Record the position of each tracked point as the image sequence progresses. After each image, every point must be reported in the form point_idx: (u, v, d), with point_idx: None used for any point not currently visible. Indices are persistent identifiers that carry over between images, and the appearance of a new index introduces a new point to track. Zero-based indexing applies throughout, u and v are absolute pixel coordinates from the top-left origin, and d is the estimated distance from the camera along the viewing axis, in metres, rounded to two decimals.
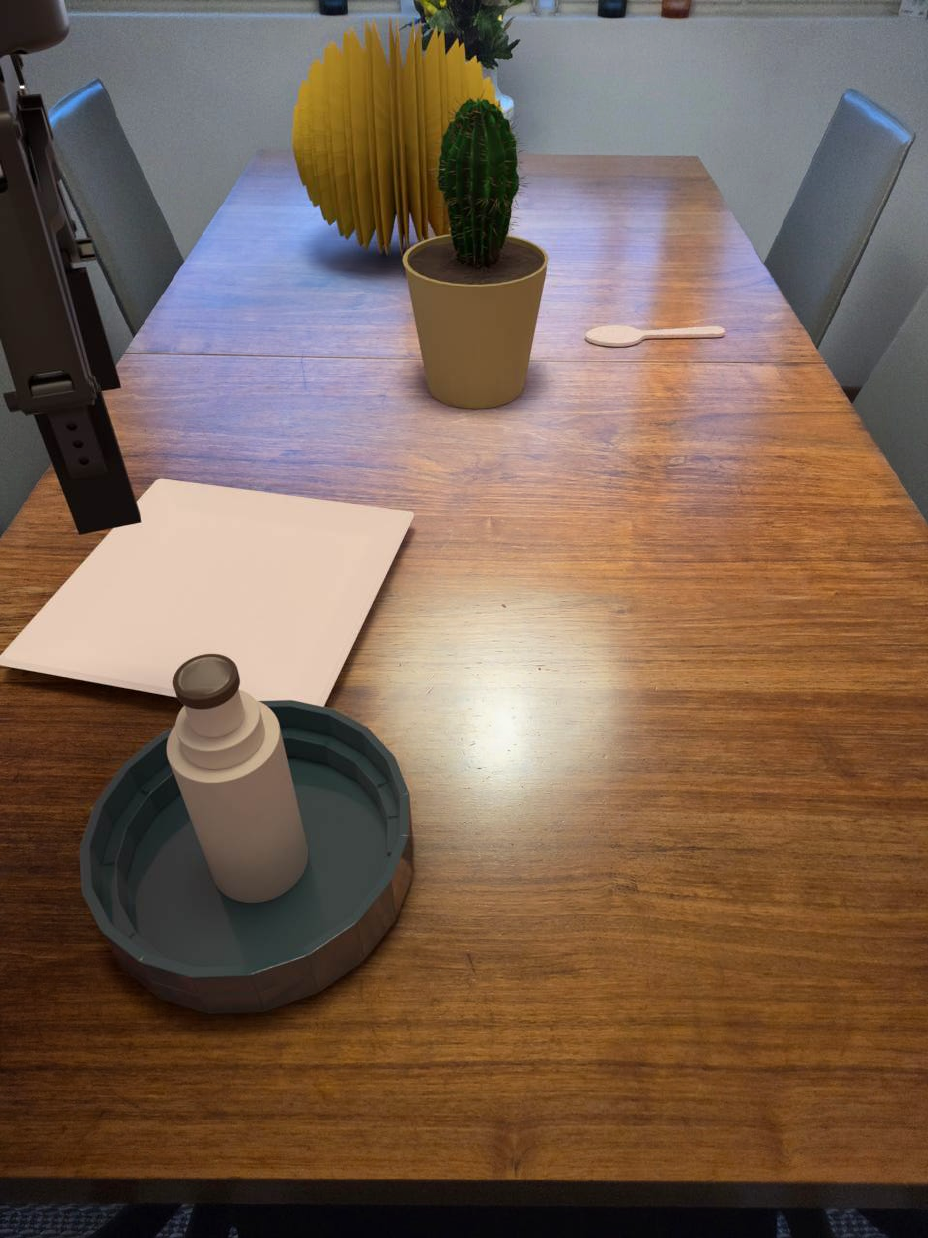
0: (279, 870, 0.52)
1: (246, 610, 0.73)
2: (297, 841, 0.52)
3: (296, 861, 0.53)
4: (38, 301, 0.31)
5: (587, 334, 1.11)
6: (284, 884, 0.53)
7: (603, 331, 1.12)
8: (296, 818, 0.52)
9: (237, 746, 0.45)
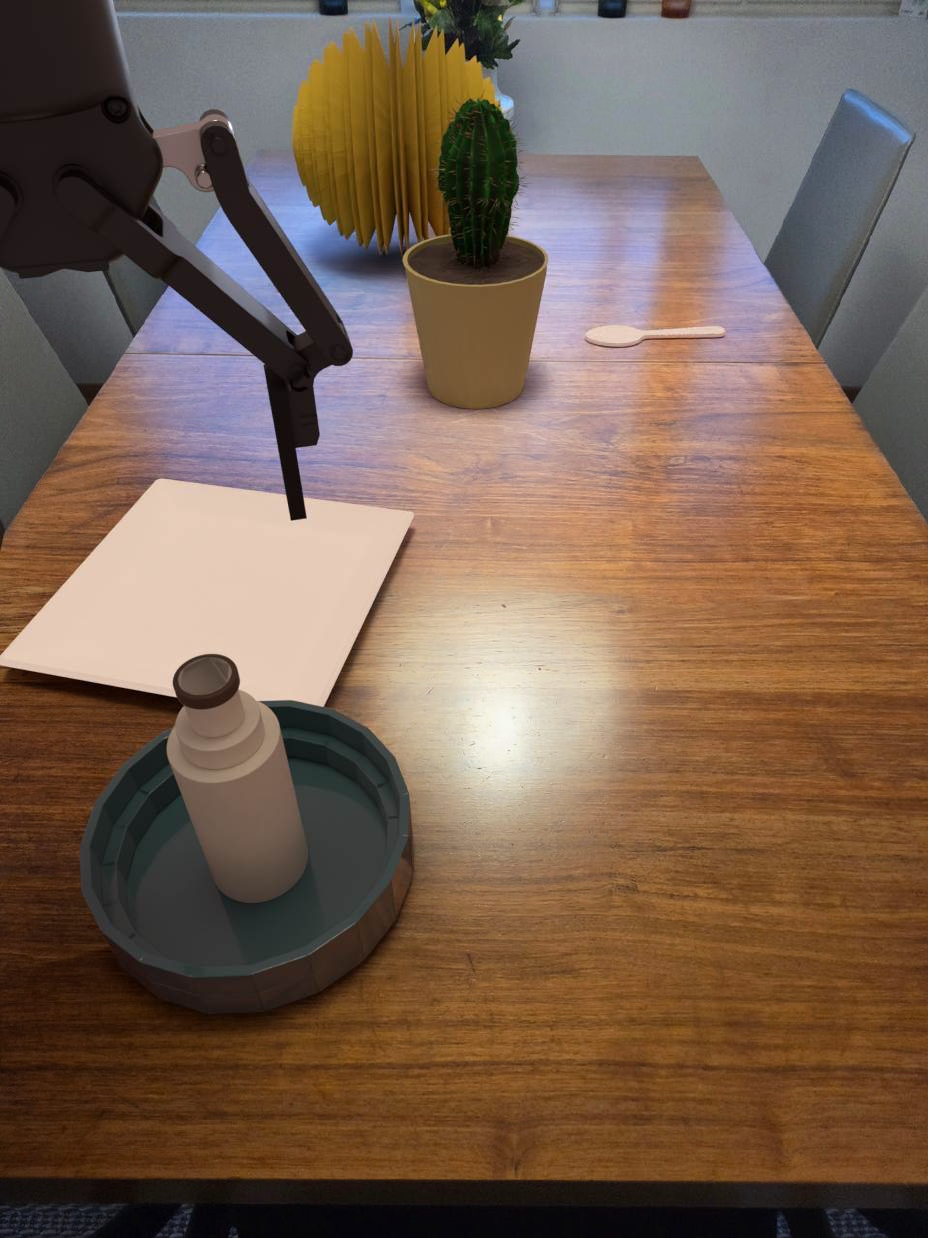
0: (279, 870, 0.52)
1: (246, 610, 0.73)
2: (297, 841, 0.52)
3: (296, 861, 0.53)
4: (303, 265, 0.35)
5: (587, 334, 1.11)
6: (284, 884, 0.53)
7: (603, 331, 1.12)
8: (296, 818, 0.52)
9: (237, 746, 0.45)
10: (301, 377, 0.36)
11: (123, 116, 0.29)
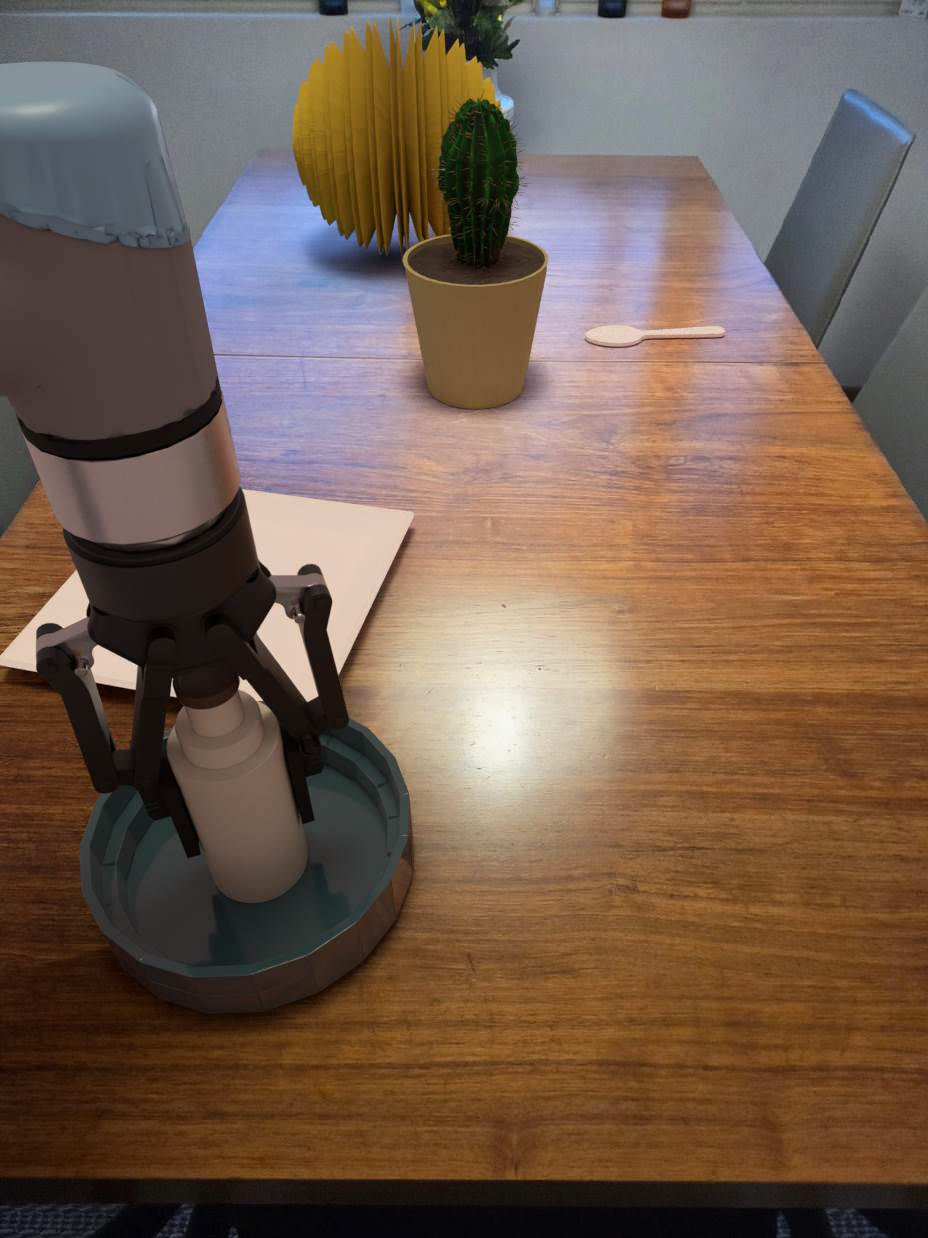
0: (279, 870, 0.52)
1: None
2: (297, 841, 0.52)
3: (295, 861, 0.53)
4: None
5: (587, 334, 1.11)
6: (284, 884, 0.53)
7: (603, 331, 1.12)
8: (296, 818, 0.52)
9: (237, 746, 0.45)
10: (312, 746, 0.47)
11: (252, 576, 0.40)
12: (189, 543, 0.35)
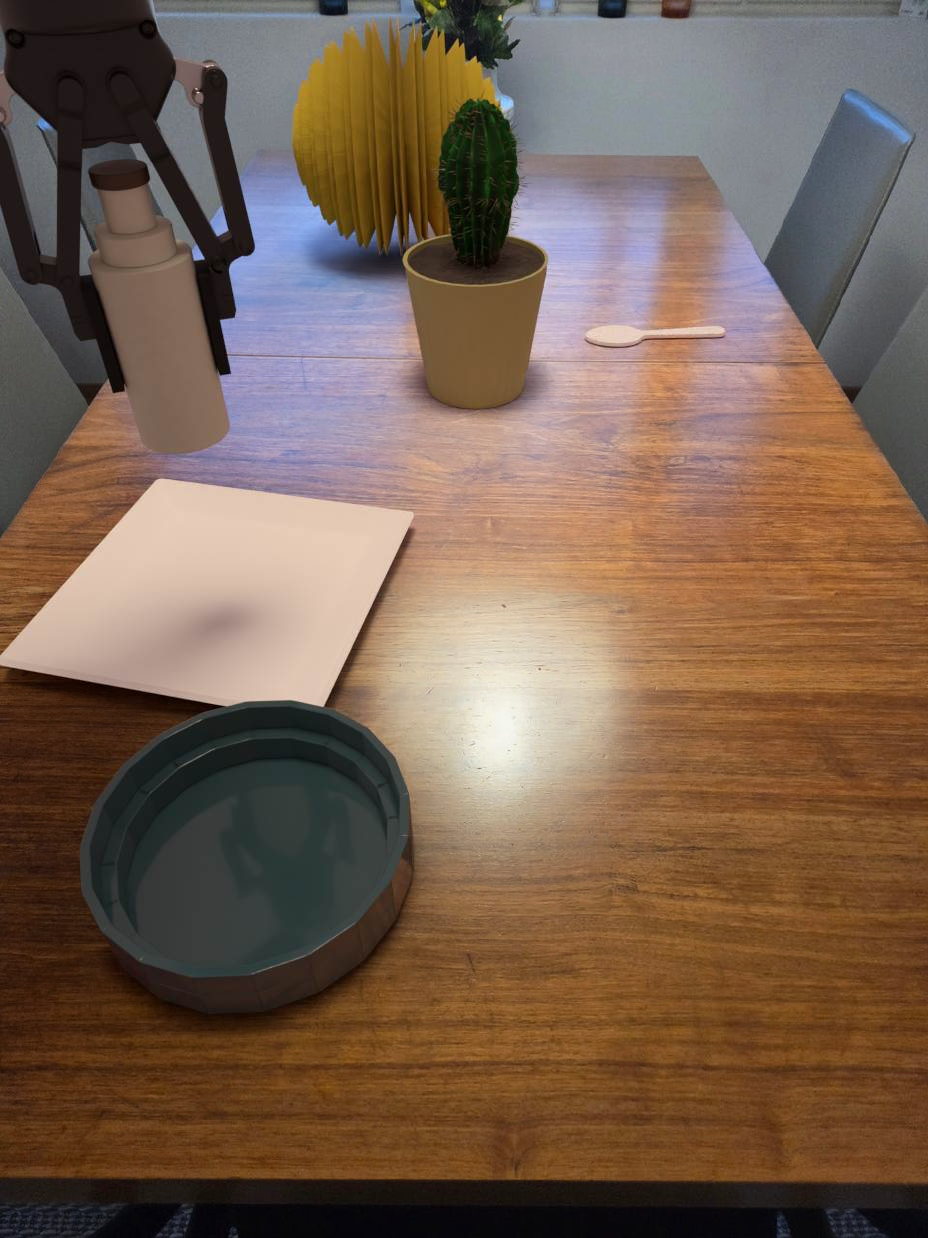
0: (198, 414, 0.57)
1: (246, 610, 0.73)
2: (215, 393, 0.57)
3: (214, 415, 0.58)
4: None
5: (587, 334, 1.11)
6: (204, 436, 0.58)
7: (603, 331, 1.12)
8: (213, 367, 0.57)
9: (148, 241, 0.50)
10: (220, 263, 0.52)
11: (151, 34, 0.45)
12: None
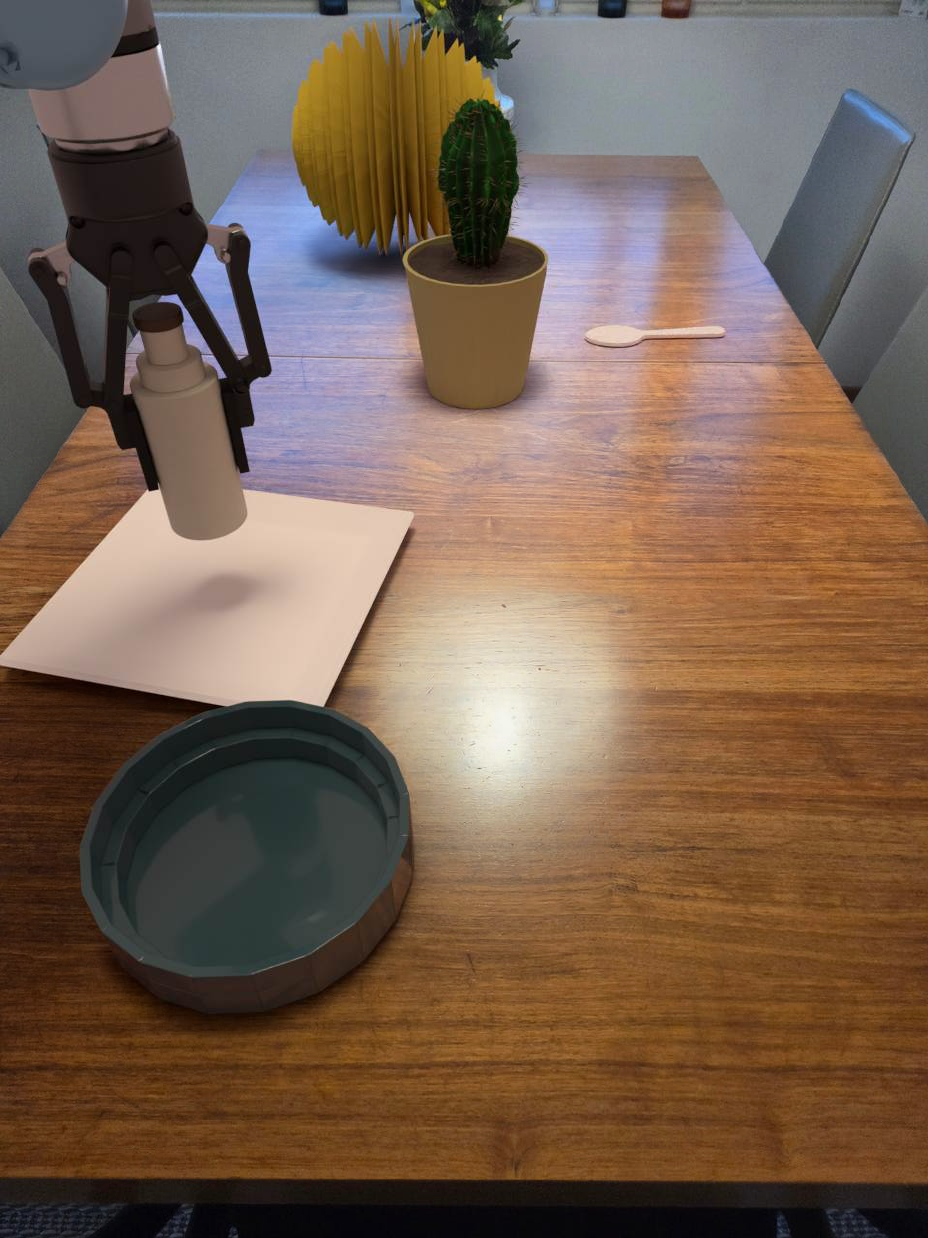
0: (221, 507, 0.66)
1: (246, 610, 0.73)
2: (236, 488, 0.66)
3: (235, 506, 0.67)
4: None
5: (587, 334, 1.11)
6: (226, 525, 0.67)
7: (603, 331, 1.12)
8: (234, 466, 0.66)
9: (182, 371, 0.59)
10: (242, 385, 0.61)
11: (188, 211, 0.54)
12: (136, 151, 0.49)
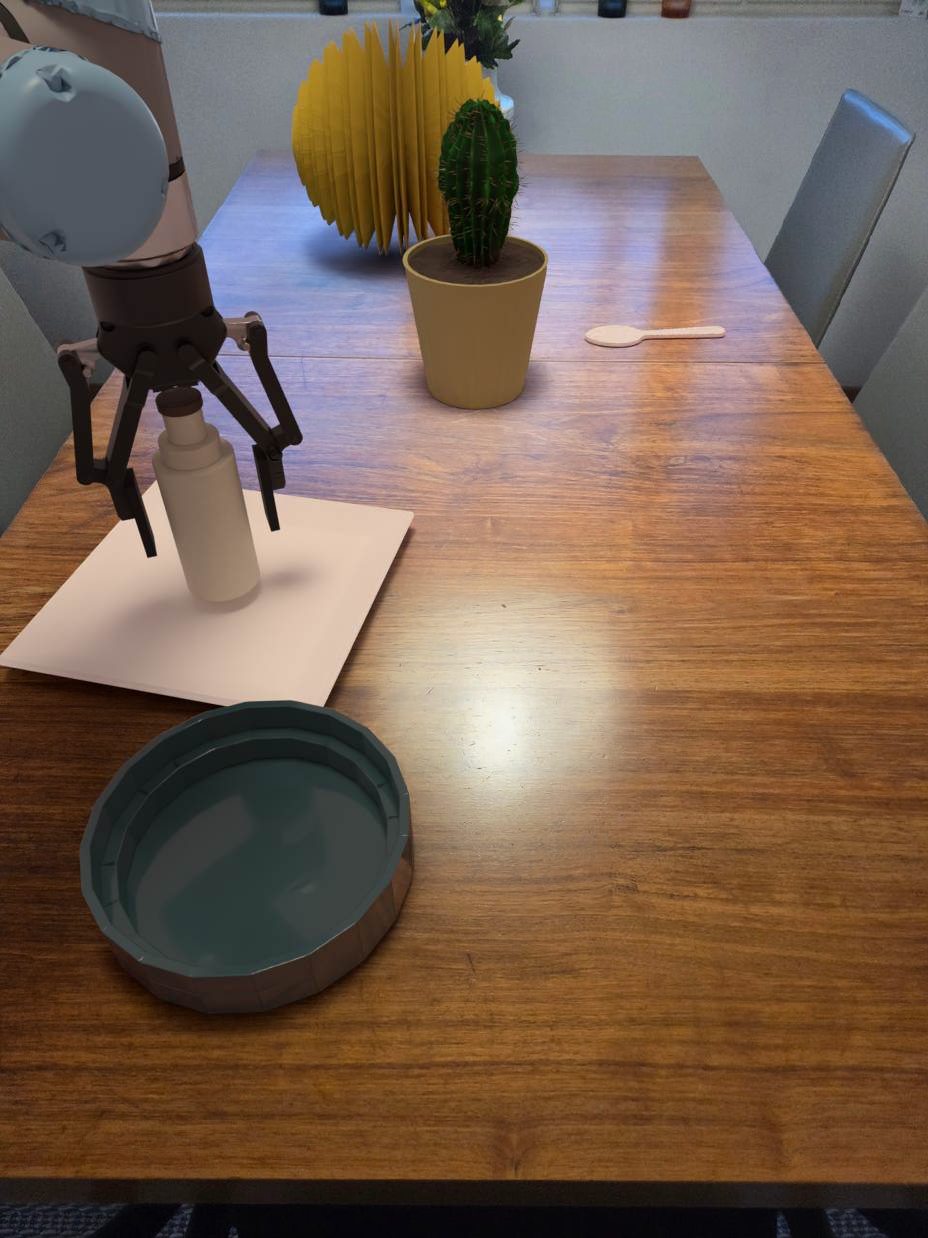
0: (236, 571, 0.70)
1: (246, 610, 0.73)
2: (249, 552, 0.71)
3: (249, 569, 0.71)
4: None
5: (587, 334, 1.11)
6: (240, 587, 0.71)
7: (603, 331, 1.12)
8: (248, 533, 0.70)
9: (201, 451, 0.63)
10: (276, 453, 0.66)
11: (209, 313, 0.58)
12: (164, 267, 0.53)
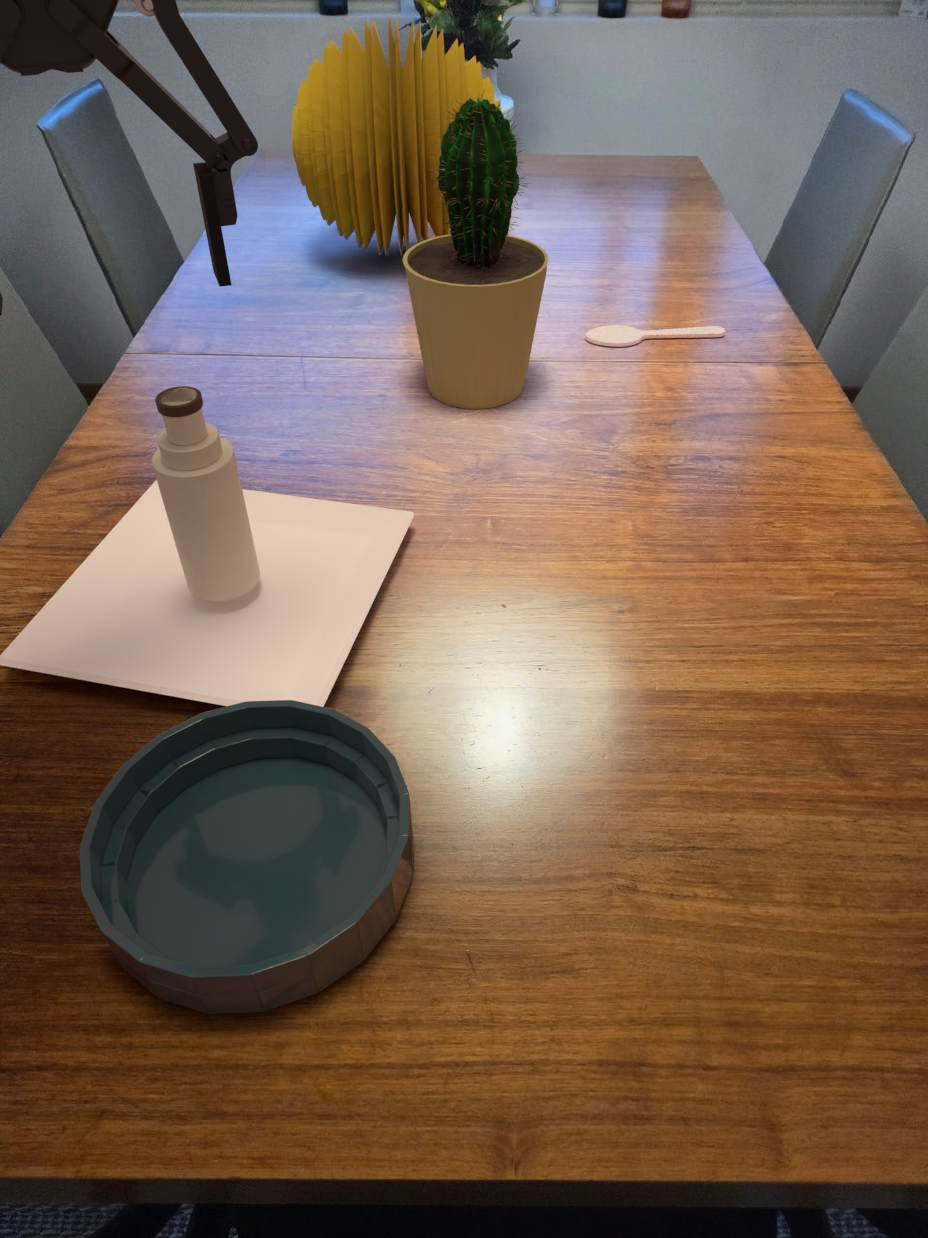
0: (236, 571, 0.70)
1: (246, 610, 0.73)
2: (249, 552, 0.71)
3: (249, 569, 0.71)
4: None
5: (587, 334, 1.11)
6: (240, 587, 0.71)
7: (603, 331, 1.12)
8: (248, 533, 0.70)
9: (201, 451, 0.63)
10: (222, 160, 0.51)
11: None
12: None
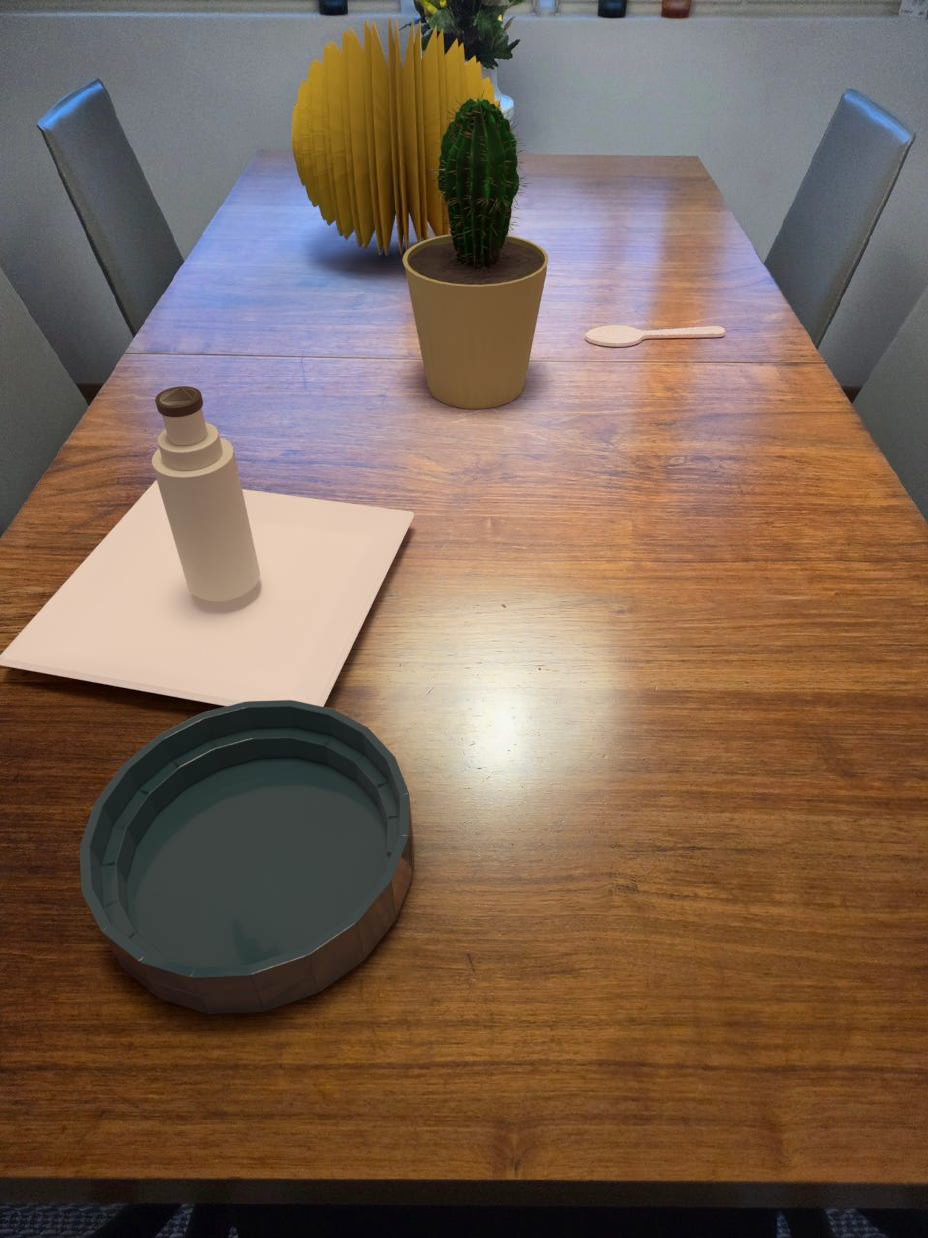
0: (236, 571, 0.70)
1: (246, 610, 0.73)
2: (249, 552, 0.71)
3: (249, 569, 0.71)
4: None
5: (587, 334, 1.11)
6: (240, 587, 0.71)
7: (603, 331, 1.12)
8: (248, 533, 0.70)
9: (201, 451, 0.63)
10: None
11: None
12: None
